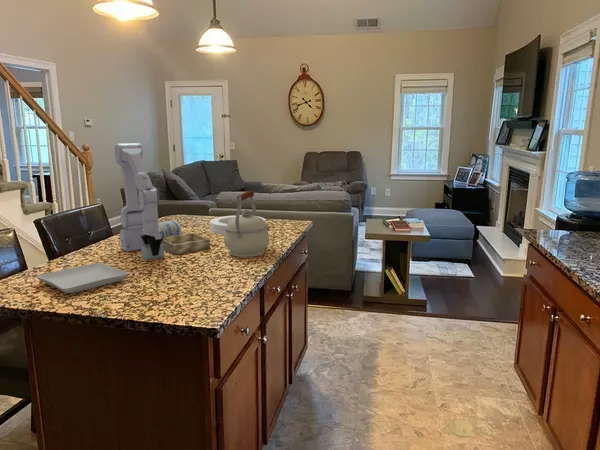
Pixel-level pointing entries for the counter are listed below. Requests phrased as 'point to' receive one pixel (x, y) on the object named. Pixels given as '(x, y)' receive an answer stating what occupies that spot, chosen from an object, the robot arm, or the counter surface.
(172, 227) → the supplement tub
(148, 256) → the small crate
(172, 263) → the counter surface
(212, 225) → the ring with crossbar
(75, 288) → the salad plate
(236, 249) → the kettle
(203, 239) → the square wooden tray
